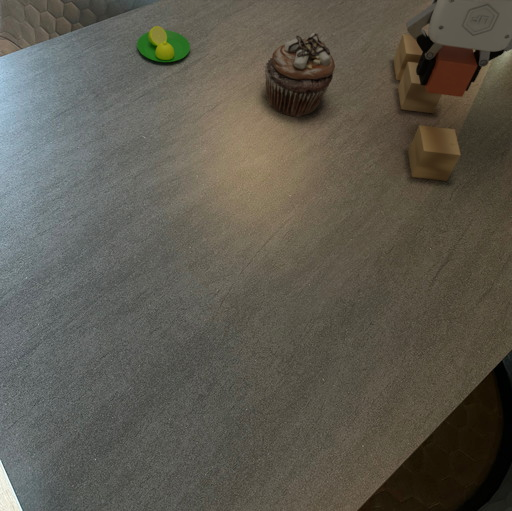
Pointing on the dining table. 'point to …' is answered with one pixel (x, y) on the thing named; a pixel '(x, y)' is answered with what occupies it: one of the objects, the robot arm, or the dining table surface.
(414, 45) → the maple block
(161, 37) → the lemon
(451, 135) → the maple block
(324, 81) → the cupcake
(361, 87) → the dining table surface
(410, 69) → the maple block
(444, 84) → the terracotta block
